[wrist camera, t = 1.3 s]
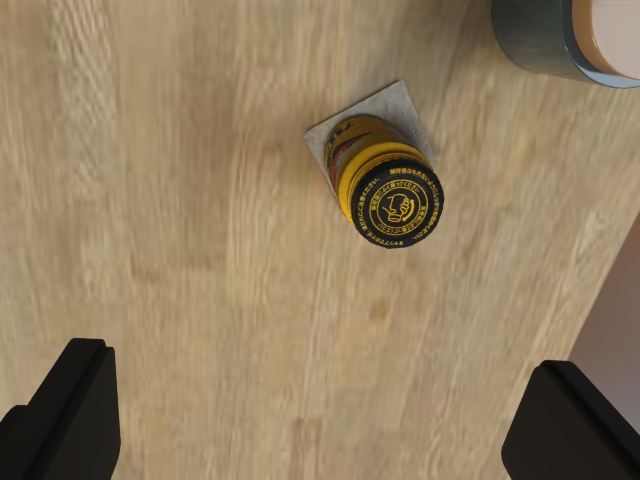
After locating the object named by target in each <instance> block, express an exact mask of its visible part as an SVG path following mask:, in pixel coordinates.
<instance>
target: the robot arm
mask: <svg viewBox="0 0 640 480" xmlns="http://www.w3.org/2000/svg"><path fill="white" fill-rule="evenodd" d="M120 445H121V439H120V424H119V409H118V394H117V379H116V364H115V351H114V348H113V347H106V344H105V341H104V340H103V339H87V338H73V339H71V340H70V342H69V343H68V344H67V346H66V347H65V349H64V350H63V352H62V353H61V355H60V356H59V358H58V359H57V361H56V363H55V364H54V366H53V367H52V369H51V370H50V372H49V373H48V375H47V376H46V378H45V379H44V381H43V382H42V384H41V385H40V387H39V388H38V390H37V391H36V393H35V394H34V396H33V397H32V399H31V400H30V402H29V403H28V405H16V406H14V407H13V408H11V409H10V410H9V412H8V413H7V414H6V415H5V416H4V418H3V419H2V421H1V422H0V480H111V477H112V474H113V471H114V469H115V466H116V463H117V460H118V457H119V452H120ZM501 456H502V461H503V464H504V466H505V468H506V470H507V472H508V474H509V476H510V478H511V479H512V480H640V435H639V434H638V433H637V432H636V431H635V430H634V429H633V427H632V426H631V425H630V424H629V423H628V422H627V421H626V420H625V419H624V418H623V416H622V415H621V414H620V413H619V412H618V411H617V410H616V409H615V408H614V407H613V405H612V404H611V403H610V402H609V401H608V400H607V399H606V398H605V397H604V396H603V394H602V393H601V392H600V391H599V390H598V389H597V388H596V387H595V386H594V385H593V384H592V383H591V381H590V380H589V379H588V378H587V377H586V376H585V375H584V374H583V373H582V372H581V370H580V369H579V368H578V367H577V366H576V365H575V364H574V363H572V362H570V361H558V360H544V361H543V362H541V364H540V365H539V366H537V367H536V368H535V369H534V370H533V372H532V375H531V377H530V380H529V382H528V385H527V387H526V390H525V392H524V395H523V397H522V399H521V402H520V404H519V407H518V409H517V412H516V414H515V417H514V419H513V422H512V424H511V427H510V429H509V431H508V434H507V436H506V439H505V441H504V444H503V446H502V450H501Z"/></svg>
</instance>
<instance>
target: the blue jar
mask: <svg viewBox="0 0 640 480" xmlns="http://www.w3.org/2000/svg"><path fill="white" fill-rule="evenodd" d="M492 22H493V28H494V32H495V35H496V38H497V40H498V43H499V45H500V47H501V48H502V50H503V51H504V53H505V54H506V55H507V56H508V58H509V59H510V60H511V61H513V62H514V63H515V64H516V65H518V66H519V67H521V68H523V69H525V70H528V71H531V72H535V73H540V74H545V75H550V76H555V77H560V78H566V79H571V80H576V81H581V82H586V83H591V84H596V85H601V86H607V87H612V88H625V89H626V88H635V87H640V0H492Z"/></svg>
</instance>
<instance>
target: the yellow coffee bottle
mask: <svg viewBox="0 0 640 480" xmlns="http://www.w3.org/2000/svg"><path fill="white" fill-rule="evenodd" d="M302 136H303V137H304V139H305V141H306V143H307V145H308V147H309V149H310V150H311V152H312V154H313V156H314V158H315V159H316V161H317V163H318V165H319V167H320V169H321V170H322V172H323V174H324V176H325V178H326V180H327V182H328V183H329V185H330V187H331V189H332V191H333V193H334V195H335V196H336V198H337V200H338V202H339V204H340V207H341V208H342V211H343V214H344V215H345V217H346V218H347V219H348V220H349V221H350V223H352V225H354V226H355V227H356V229H357V230H358V231H359V233H360V234H361V235H362V236H363V237H364V238H366V239H367V240H368V241H369V242H371V243H373V244H375V245H378V246H381V247H385V248H387V249H392V248H404V247H409V246H412V245H414V244H416V243H417V242H419V241H421V240H423V239H424V238H426V237H427V236H428V235H429V234H430V233H432V231H433V230H434V228H435V227H436V226H437V224H438V221H439V219H440V216H441V213H442V210H443V204H444V194H443V189H442V186H441V184H440V181H439V179H438V177H437V176H436V174H435V173H434V172H433V169H432V166H434V165H436V164H438V163H437V160H436V158H435V156H434V154H433V151H432V149H431V147H430V144H429V142H428V139H427V137H426V134H425V132H424V130H423V127H422V125H421V122H420V120H419V118H418V116H417V113H416V110H415V108H414V105H413V102H412V100H411V98H410V95H409V93H408V90H407V88H406V85H405V83H404V80H403V79H402V80H400V81H398V82H396V83H395V84H393V85H391V86H389V87H387V88H385V89H384V90H382V91H380V92H379V93H377V94H375V95H373V96H371V97H369V98H367V99H366V100H364V101H362V102H360V103H358V104H356V105H354V106H352V107H351V108H349V109H347V110H345V111H343V112H341V113H340V114H338V115H336V116H334V117H332V118H330V119H329V120H327V121H325V122H323V123H321V124H320V125H318V126H316V127H314V128H312V129H310V130H309V131H307V132H305V133H304V134H302Z"/></svg>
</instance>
